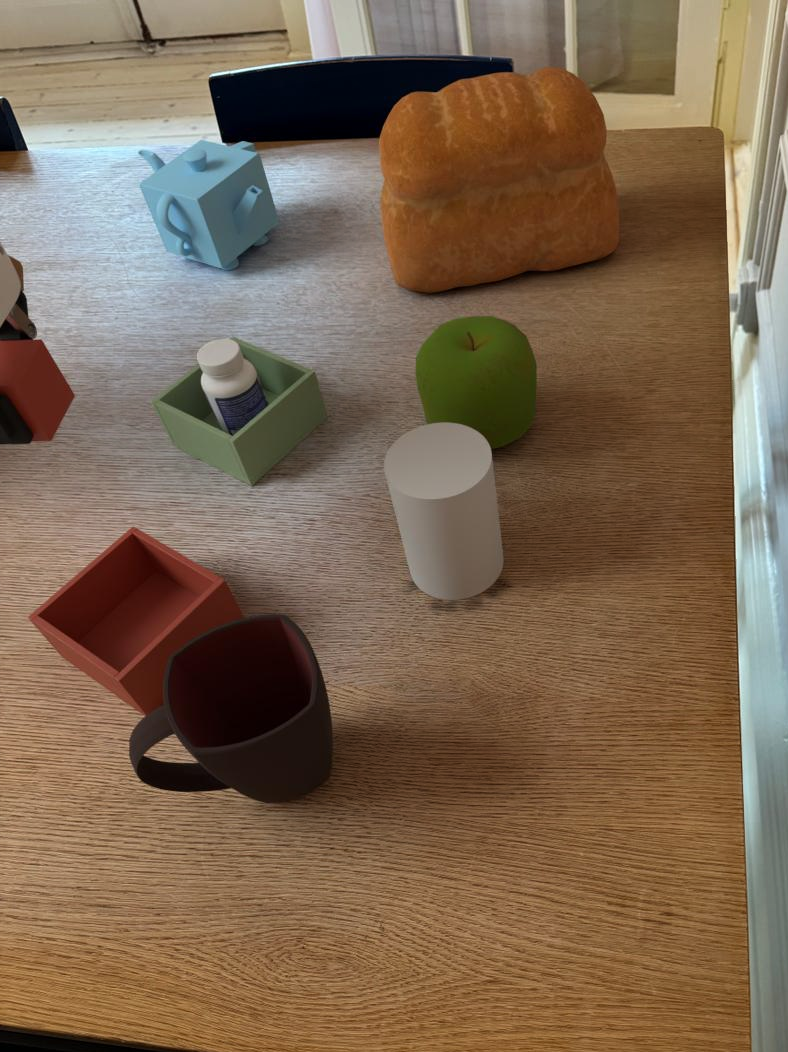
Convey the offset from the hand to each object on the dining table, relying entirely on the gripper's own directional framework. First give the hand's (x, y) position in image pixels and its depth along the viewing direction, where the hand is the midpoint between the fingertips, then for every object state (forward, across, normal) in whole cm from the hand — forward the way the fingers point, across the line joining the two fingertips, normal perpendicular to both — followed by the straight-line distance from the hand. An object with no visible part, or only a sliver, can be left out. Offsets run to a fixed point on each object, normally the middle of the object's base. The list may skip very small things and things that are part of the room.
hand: (27, 412), depth 65 cm
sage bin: (+18, -18, +7) cm, 26 cm away
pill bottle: (+17, -18, +7) cm, 26 cm away
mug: (+18, +20, +17) cm, 32 cm away
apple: (+18, -18, +30) cm, 40 cm away
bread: (+18, -48, +30) cm, 60 cm away
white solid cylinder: (+18, -1, +30) cm, 35 cm away
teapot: (+18, -51, -4) cm, 54 cm away
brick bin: (+18, +8, +5) cm, 20 cm away
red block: (+1, 0, 0) cm, 1 cm away
